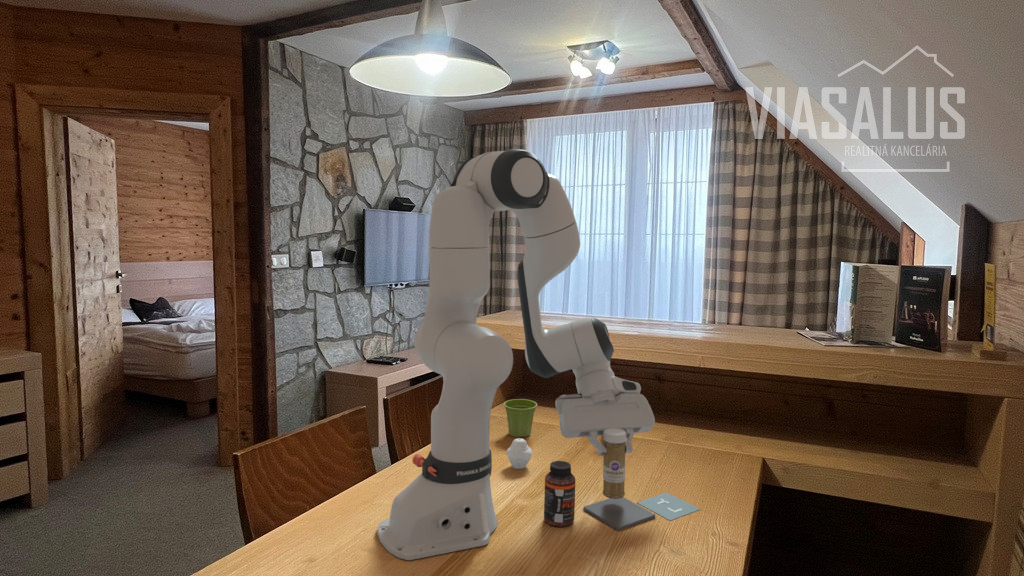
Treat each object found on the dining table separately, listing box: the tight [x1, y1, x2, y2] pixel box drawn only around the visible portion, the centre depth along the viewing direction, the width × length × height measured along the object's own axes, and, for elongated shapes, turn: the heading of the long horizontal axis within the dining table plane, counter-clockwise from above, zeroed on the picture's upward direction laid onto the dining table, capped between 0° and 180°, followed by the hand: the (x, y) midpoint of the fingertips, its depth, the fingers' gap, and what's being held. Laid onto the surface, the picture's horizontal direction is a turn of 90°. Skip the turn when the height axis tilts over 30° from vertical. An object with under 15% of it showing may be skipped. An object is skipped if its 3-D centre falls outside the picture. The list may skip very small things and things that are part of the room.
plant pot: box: [503, 398, 538, 438], centre depth 160 cm, size 9×9×9 cm
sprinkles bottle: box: [602, 429, 627, 499], centre depth 117 cm, size 5×5×14 cm
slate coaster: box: [583, 496, 656, 532], centre depth 115 cm, size 10×10×1 cm
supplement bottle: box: [543, 460, 576, 528], centre depth 111 cm, size 6×6×11 cm
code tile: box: [636, 492, 701, 521], centre depth 118 cm, size 9×9×1 cm
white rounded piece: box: [506, 437, 533, 470], centre depth 137 cm, size 6×6×7 cm
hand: (615, 453), depth 116 cm, fingers closed on sprinkles bottle, 4 cm apart
